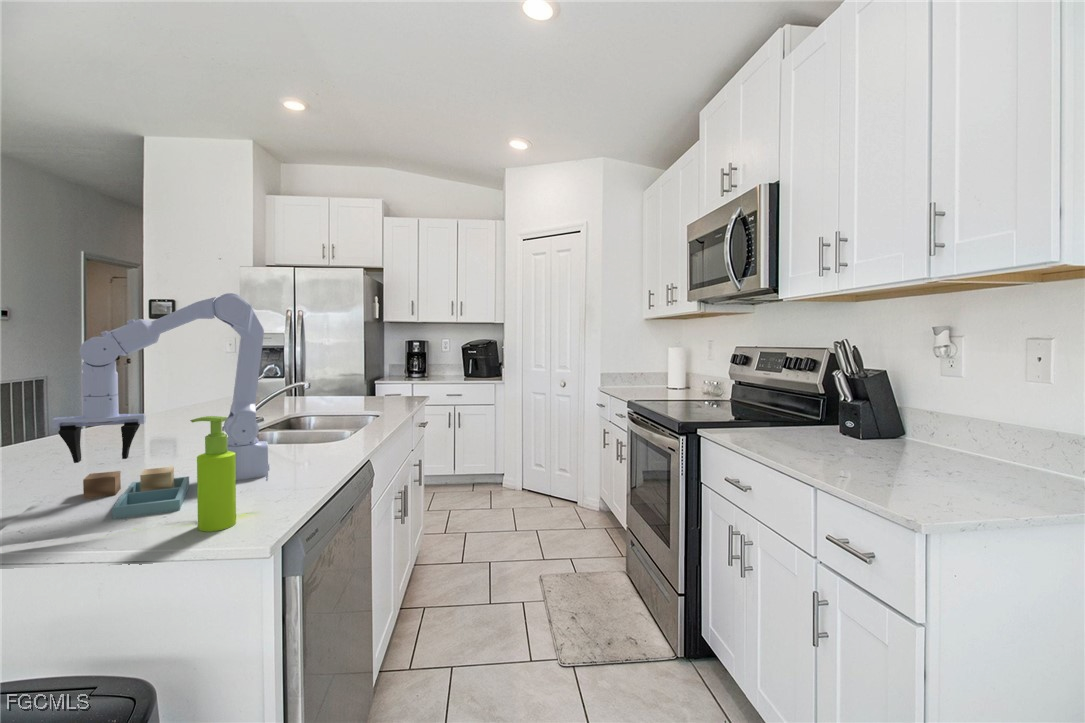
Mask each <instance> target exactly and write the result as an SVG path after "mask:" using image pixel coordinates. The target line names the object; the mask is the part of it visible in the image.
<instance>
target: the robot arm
mask: <svg viewBox="0 0 1085 723" xmlns="http://www.w3.org/2000/svg"><path fill="white" fill-rule="evenodd" d="M215 318H217V320H220V321H221V322H223V323H225V324H227V325H229V326H230V327H231V328H232V330H234V331H235V332H236V333H237V335H239V337H240V338H239V346H238V347H239V348H238V354H237V355H238V356H237V362H236V363H237V364H236V372H235V378H234V379H235V380H234V387H233V388H234V389H233V395H232V396H233V398H232V403H231V405H230V411H229V414H228V416H227V420H226V421H223V422H224V424H223V430H224V431H225V434H227V451H231V452H235V466H236V481H239V480H247V479H248V480H249V479H253V478H254V479H255V478H261V477H265V481H268V480H269V472H270V463H269V446H268V445H269V444H268V441H265V440H259V437H258V435H259V433H260V432H259V431H260V429H259V428H260V427H259V425H258V422H257V406H256V401H257V393H258V387H259V386H258V385H259V376H260V371H261V370H260V368H261V359H262V352H263V343H264V336H265V330H264V327H263V325H262V323H261V322H260V320H259V318H258V317H257V315H256V313H255V311H254V309H253V306H252V305H251V304H250V303H249V302H248V301H247V300H246V299H245V298H244V297H242V296H241V295H239V294H237V293H230V292H228V293H224V294H222V295H220V296H218V297H216V296H214V297H210V298H206V299H202V300H198V301H195V302H194V303H191V304H188V305H187V306H184V307H182V308H180V309H177V310H175V311H173V312H170V313H168V314H166V315H164V316H161V317H160V318H157V319H154V320H151V321H150V320H146V319H142V318H139V319H137V320H135V318H134V319H133V318H132V319H129V320H127V321H126V323H127V324H124V325H122V326H120V327H117V328H114V329H112V330H110V331H107V330H104V331H101V332H100V334H101V336H92V337H90V338H89V339H87V340H85V341H84V342H83V343H82V344H81V345H80V347H79V356H80V358H81V359H82V364H81V370H82V372H81V375H80V376H81V378H80V381H81V411H82V412H81V415H76V416H63V417H62V416H61V417H54V418H52V419H51V421H52V427H51V428H52V429H59V430H58V431H57V432H58V435H59V436H60V438H61V439H62V440H63V441H64V443H65V444H66V446H67V448H68V450H69V451H70V454H71V457H72V460H73V464H77V463H78V464H79V463H80V462H81V461H82V449H81V438H82V437H81V436H82V435H81V434H82V427H96V426H98V427H99V426H114V425H115V426H116V425H122V426H121V427H120V431H121V438H122V440H121V441H122V445H121V447H122V448H121V457H122V458H121V459H122V460H126V459H128V458H129V454H130V449H131V445H132V443H133V440H134V437H135V436H136V433H137V432H138V429H139V428H140V426H141V425H143V424H146V421H147V419H146V417H147V416H146V413H120V412H119V409H120V408H119V407H120V406H119V405H120V404H119V373H118V371H117V361H116V360H117V359H118V357H119V356H124V357H126V356H128V355H131V354H133V353H135V352H138V351H140V350H143V349H145V348H148V347H150V346H152V345H154V344H156V343H158V341H159V338H160V335H161V334H163V333H167V332H168V331H170V330H173V329H176V328H179V327H181V326H184V325H186V324H188V323H191V322H194V321H196V320H199V319H200V320H202V319H205V320H206V319H207V320H209V319H210V320H213V319H215Z"/></svg>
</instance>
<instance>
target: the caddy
mask: <svg viewBox="0 0 1085 723" xmlns="http://www.w3.org/2000/svg"><path fill="white" fill-rule="evenodd" d="M189 487H190V476H181V477H174V488H169V489H160V490H150V491H141V484H140V480H139V481H132V482H131V483H130V484H129V485H128V487H127V488H126V489H125V491H124V492H123V493H122V495H121V496H120V497H119V498H118V500H117V501H116V503H115V504H114V505H113V506H112V508H111V510H112V514H111V515H112V519H113V520H115V519H122V518H130V517H138V516H145V515H155V514H161V513H167V512H168V513H170V512H177V511H180V510H181V508H182V505H183V503H184V500H185V497H186V496H187V492H188V491H189Z"/></svg>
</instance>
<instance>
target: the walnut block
mask: <svg viewBox="0 0 1085 723" xmlns="http://www.w3.org/2000/svg"><path fill="white" fill-rule="evenodd" d="M121 484H122V483H121V470H117V471H114V470H113V471H105V472H93V473H89V474H88V475H87V476H85V478H83V480H82V486H83V489H82V490H83V492H82V493H83V499H84V500H86V499H95V498H102V497H112V496H117V494H119V492H120V491H121V488H122V486H121Z"/></svg>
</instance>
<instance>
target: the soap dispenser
mask: <svg viewBox="0 0 1085 723" xmlns="http://www.w3.org/2000/svg"><path fill="white" fill-rule="evenodd" d="M227 417H228V416H227ZM227 417H226V416H218V415H216V416H215V415H208V416H206V415H205V416H202V417H201V416H200V417H197V418H194V419H190V420H189V421H190V422H191V423H195V422H196V423H197V422H198V423H199V422H210V423H209V424H210V433H208V434H207V435H205V436H204V441H205V442H204V448H205V449H204V453H201V454H198V455H197V456H196V478H197V479H196V488H197V490H196V493H197V494H196V495H197V499H196V500H197V529H198V531H201V532H217V531H222V530H227V529H229V528H231V527H233V526H235V525H236V523H237V498H236V497H237V492H236V491H237V490H236V489H237V488H236V485H237V484H236V481H237V480H236V466H235V452H231V451H227V437H228V434H227V433H224V432H223V431H222V430H223V429H222V428H223V427H222V425H223V424H222V423H223V422H225V421H226V420H227Z"/></svg>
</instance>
